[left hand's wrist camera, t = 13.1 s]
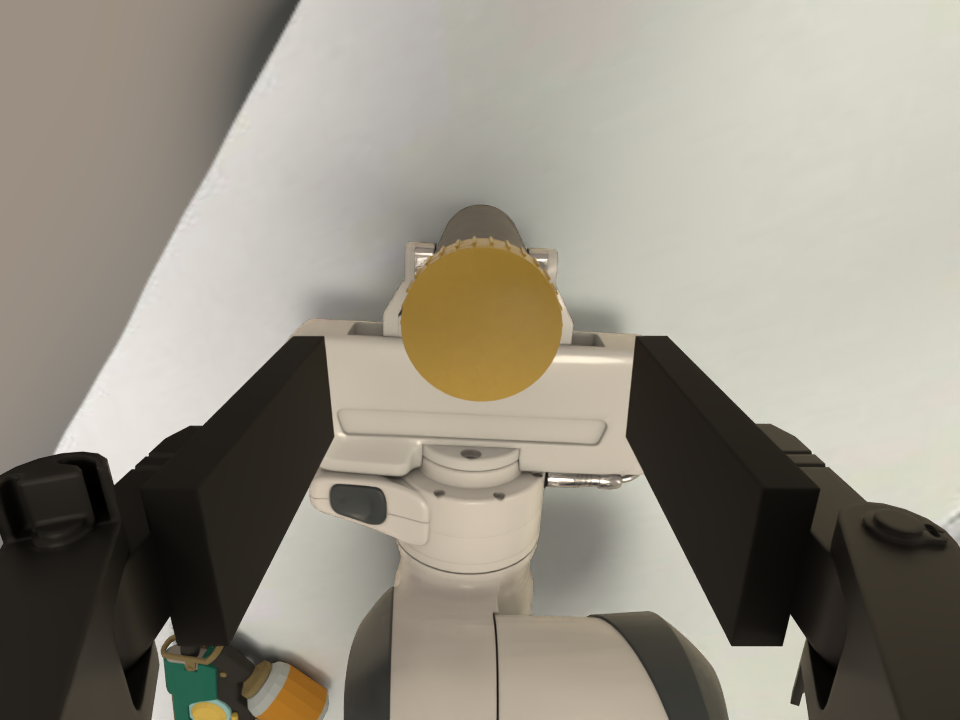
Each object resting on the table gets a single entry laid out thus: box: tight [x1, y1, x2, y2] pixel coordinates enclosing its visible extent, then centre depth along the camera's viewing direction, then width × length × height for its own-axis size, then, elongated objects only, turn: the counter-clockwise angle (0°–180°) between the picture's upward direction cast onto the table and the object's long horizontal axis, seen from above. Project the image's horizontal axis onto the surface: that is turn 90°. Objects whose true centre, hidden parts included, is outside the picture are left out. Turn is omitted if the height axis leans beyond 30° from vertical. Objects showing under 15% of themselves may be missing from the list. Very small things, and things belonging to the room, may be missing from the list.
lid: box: [400, 236, 563, 402], centre depth 20 cm, size 6×6×2 cm
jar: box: [434, 205, 528, 254], centre depth 27 cm, size 5×5×17 cm
